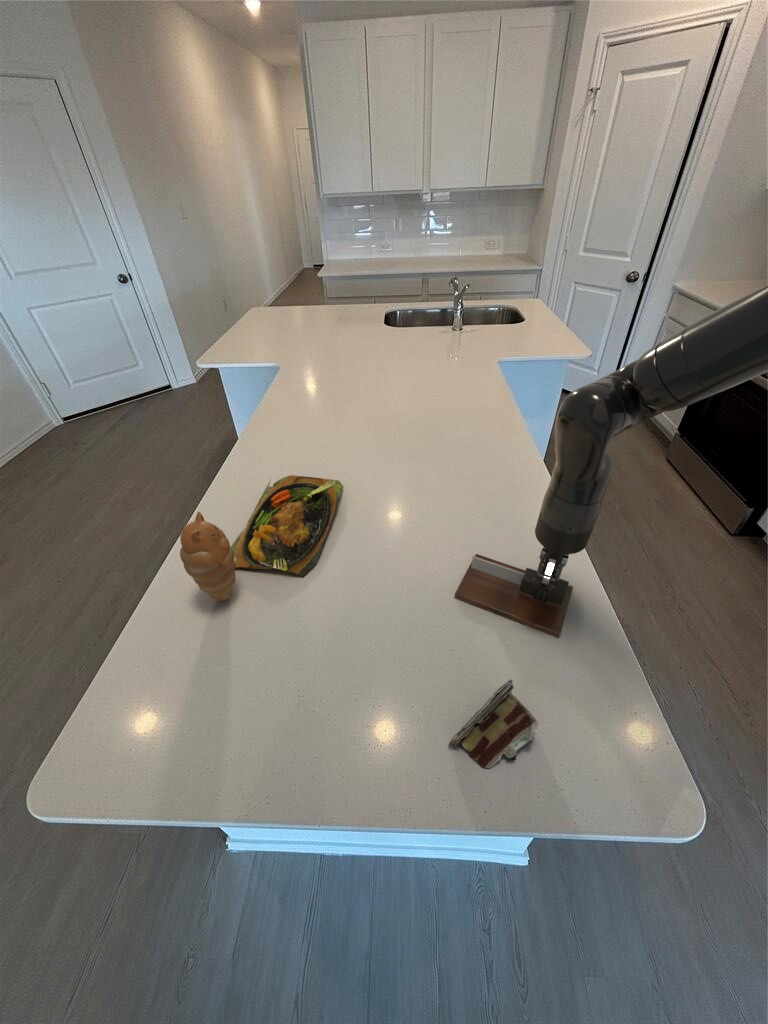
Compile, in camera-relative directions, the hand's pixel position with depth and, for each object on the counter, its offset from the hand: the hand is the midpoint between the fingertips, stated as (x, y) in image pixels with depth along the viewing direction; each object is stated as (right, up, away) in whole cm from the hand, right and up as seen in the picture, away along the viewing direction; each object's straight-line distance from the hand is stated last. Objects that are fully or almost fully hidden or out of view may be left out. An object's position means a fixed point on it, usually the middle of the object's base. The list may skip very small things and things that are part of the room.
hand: (542, 591), depth 74 cm
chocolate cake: (-12, -17, -14) cm, 25 cm away
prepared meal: (-47, +10, +20) cm, 52 cm away
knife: (-4, +1, +2) cm, 5 cm away
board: (-4, -1, +4) cm, 6 cm away
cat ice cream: (-56, -2, +5) cm, 56 cm away
